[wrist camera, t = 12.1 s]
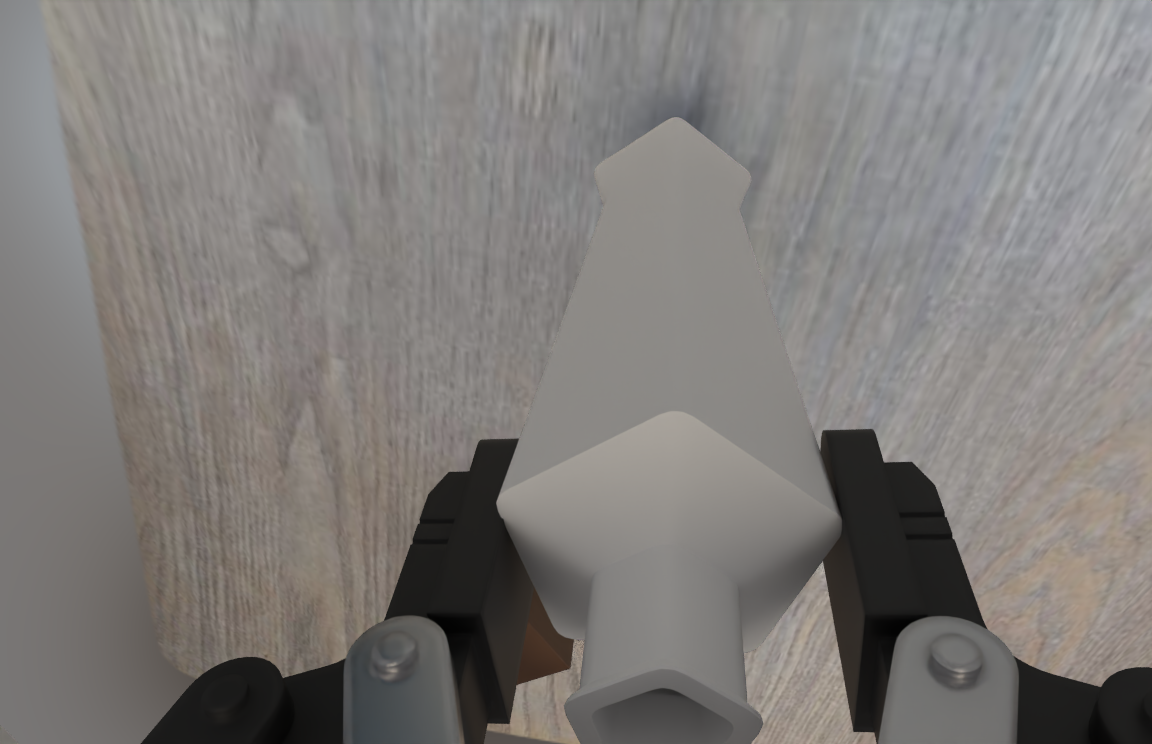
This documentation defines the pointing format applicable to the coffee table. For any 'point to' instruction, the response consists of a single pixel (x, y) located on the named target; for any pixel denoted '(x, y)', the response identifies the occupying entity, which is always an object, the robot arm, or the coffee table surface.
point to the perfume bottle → (668, 457)
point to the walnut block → (543, 646)
